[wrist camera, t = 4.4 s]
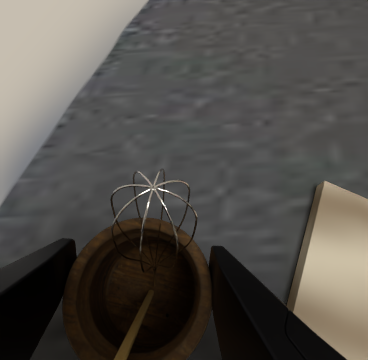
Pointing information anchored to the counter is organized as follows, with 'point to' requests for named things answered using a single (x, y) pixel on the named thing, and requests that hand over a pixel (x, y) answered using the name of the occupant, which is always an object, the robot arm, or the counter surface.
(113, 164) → the counter surface
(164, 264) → the utensil holder
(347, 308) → the birch board
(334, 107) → the counter surface
